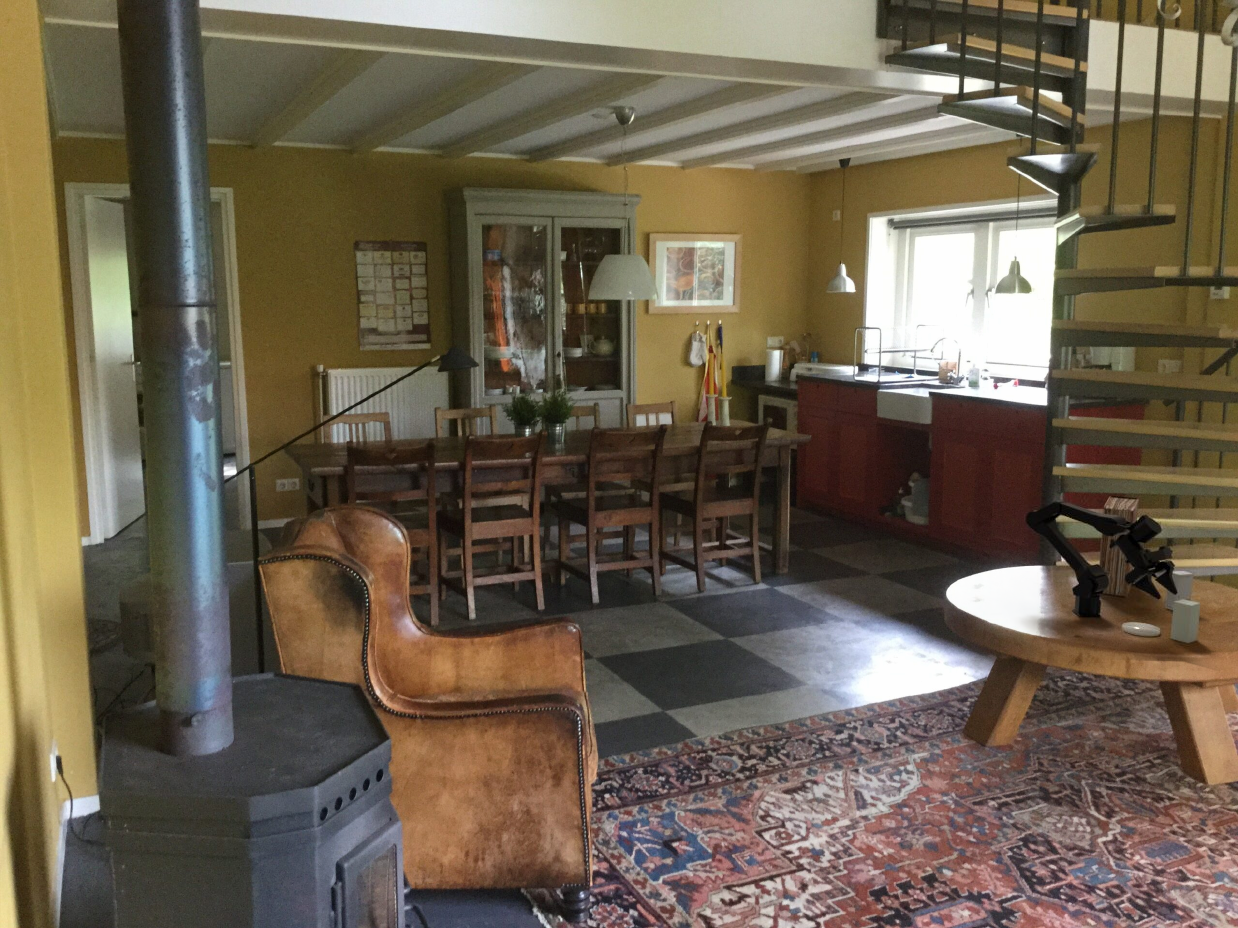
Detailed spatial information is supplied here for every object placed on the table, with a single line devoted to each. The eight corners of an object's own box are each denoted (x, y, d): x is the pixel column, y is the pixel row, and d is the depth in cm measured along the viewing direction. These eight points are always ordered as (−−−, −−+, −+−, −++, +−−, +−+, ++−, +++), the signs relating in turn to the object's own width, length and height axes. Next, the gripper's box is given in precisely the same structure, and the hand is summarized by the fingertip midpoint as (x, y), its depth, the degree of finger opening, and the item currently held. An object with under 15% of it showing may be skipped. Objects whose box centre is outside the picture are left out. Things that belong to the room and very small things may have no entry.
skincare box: (1175, 611, 328) (1178, 574, 327) (1164, 607, 332) (1167, 571, 331) (1190, 610, 330) (1194, 573, 328) (1180, 606, 334) (1183, 570, 332)
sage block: (1188, 642, 297) (1191, 605, 295) (1170, 638, 301) (1173, 601, 299) (1196, 640, 299) (1200, 603, 298) (1179, 635, 304) (1182, 599, 302)
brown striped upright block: (1126, 598, 343) (1134, 509, 339) (1096, 594, 348) (1103, 506, 343) (1131, 582, 365) (1139, 498, 361) (1103, 578, 370) (1109, 495, 365)
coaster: (1131, 635, 302) (1131, 631, 302) (1116, 625, 312) (1116, 621, 312) (1166, 636, 302) (1166, 632, 302) (1149, 626, 312) (1150, 622, 312)
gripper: (1137, 540, 300) (1173, 585, 292) (1171, 533, 310) (1206, 576, 303) (1109, 561, 307) (1143, 606, 300) (1143, 554, 318) (1176, 597, 310)
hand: (1168, 596), depth 303 cm, fingers open, 9 cm apart
